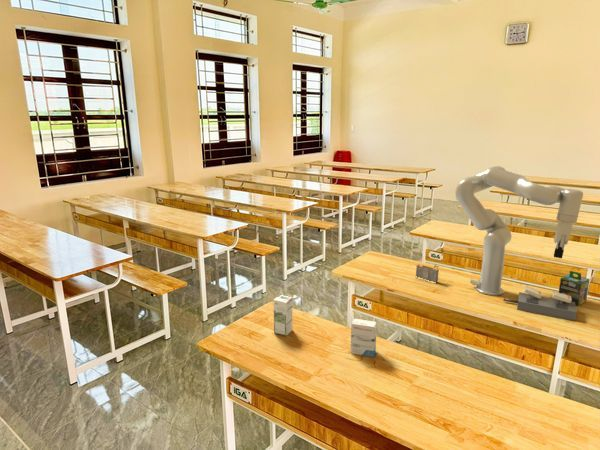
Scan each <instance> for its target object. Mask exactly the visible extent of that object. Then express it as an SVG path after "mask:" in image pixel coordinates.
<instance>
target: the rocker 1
mask: <svg viewBox="0 0 600 450" xmlns="http://www.w3.org/2000/svg"><path fill="white" fill-rule="evenodd" d="M523 290H524V292H523V293H527V294H530V295H533V296H535V297H537V298H541V296H543V294H542V293H543V292H542V291H540V290H537V289H535V288H533V287H531V286H528V285H525V287H524V289H523Z"/></svg>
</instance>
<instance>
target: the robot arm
mask: <svg viewBox="0 0 600 450" xmlns="http://www.w3.org/2000/svg"><path fill="white" fill-rule="evenodd" d="M492 187H495V188H498V189H502V190H504V191H508V192H510V193H513V194H515V195H518V196H520V197H521V198H524V199H526V200H528V201H532V202H534V203H538V204H540V205H544V206H552V205H555V204H559V206H558V210H557V213H556V220H557V221H558V222H557V226H556V229H555V232H554V237H553V242H554V243H555V244H556V245H555V248H554V253H553V258H557V259H563V256H564V252H565V246H566V245H567V246H568V243H569V240H570V236H571V232H572V229H573V225H574V224H577V221H578V219H579V218H578V217H579V214H580V209H581V206H582V201H583V197H584V192H583V191H582V190H579V189H572V188H565V187H562V186H561V187H560V186H556V185H549V186H545V185H544V186H543V185H540V184H538V183H535V182H532V181H530V180H529V179H528V178H526V176H524V175H522V174H517V173H515V172H512V171H508V170H506V169H505V168H504V167H502V166H497V165H496V166H491V167H488V168H486V170H485V171H483V172H481V173H478V174H475V175H473V176H467V177H465V178H463V179H461V180H460V181H459V182H458V184H457V186H456V189H455V199H456V201H457V203H458V204H459V205H460V208H462V210H463V212H464V213H465V215H466V216H467V217H468V219H469V220H470V221H471V223H472V225H473V226H474V227H475V228H476V229H477V230H479V231H486V232H487V233H486V234H485V236H484V238H483V242H482V243H483V253H482V261H481V263H482V265H481V270H480V271H481V272H480V278H479V279H478V280H475V279H470V284H472V285H473V286H475V291H477V292H478V293H480V294H483V295H487V296H497V297H498V296H501V295H503V294H504V289H503V288H501V287H502V279H503V273H504V265H505V255H506V253H505V252H506V251H505V250H506V246H507V244H509V243H510V241H511V240H512V233H511V230H510V228H509V227H508V226H507V225H506V223H505V222H504V221H503V220H502V218H501V216H500V215H499V214H498V213H497V212H496V211H495V210H493V209H490V208H485V207H484V205H483V204H482V202H481V201H480V200H479V199H478V198H477V197H476V196H475V194H476V193H479V192H481V191H484V190H487V189H490V188H492Z"/></svg>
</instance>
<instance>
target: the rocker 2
mask: <svg viewBox="0 0 600 450" xmlns="http://www.w3.org/2000/svg"><path fill="white" fill-rule="evenodd" d="M552 298H554V299H558V300H561V301H564V302H568V303H571V296H568V295H565V294H562V293H559V291H553V292H552Z"/></svg>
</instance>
